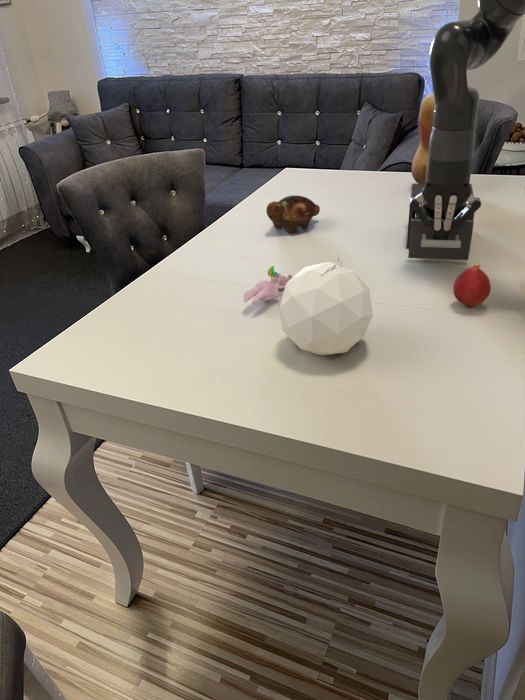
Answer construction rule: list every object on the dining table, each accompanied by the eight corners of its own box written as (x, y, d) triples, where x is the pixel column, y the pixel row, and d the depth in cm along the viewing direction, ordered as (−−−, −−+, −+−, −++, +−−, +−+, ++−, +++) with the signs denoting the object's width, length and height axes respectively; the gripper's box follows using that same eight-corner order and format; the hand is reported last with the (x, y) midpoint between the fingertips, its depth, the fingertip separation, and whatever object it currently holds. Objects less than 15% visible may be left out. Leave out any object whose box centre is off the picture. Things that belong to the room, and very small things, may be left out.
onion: (450, 313, 90) (456, 270, 85) (450, 298, 94) (456, 255, 90) (487, 316, 88) (495, 272, 84) (486, 300, 93) (493, 257, 88)
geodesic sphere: (302, 278, 92) (282, 233, 79) (386, 287, 87) (379, 240, 74) (281, 360, 87) (256, 326, 74) (368, 374, 82) (358, 340, 70)
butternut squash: (402, 186, 150) (409, 88, 137) (447, 181, 152) (458, 83, 138) (423, 201, 139) (434, 95, 125) (472, 194, 140) (487, 90, 127)
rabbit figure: (271, 286, 106) (233, 308, 94) (271, 256, 104) (232, 276, 92) (300, 290, 104) (264, 314, 92) (301, 260, 101) (264, 281, 89)
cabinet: (468, 250, 111) (475, 205, 106) (406, 248, 114) (409, 204, 109) (465, 225, 122) (471, 183, 117) (408, 224, 126) (412, 183, 120)
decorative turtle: (256, 233, 128) (254, 199, 124) (301, 220, 136) (300, 188, 132) (284, 240, 121) (283, 205, 117) (329, 226, 130) (330, 192, 126)
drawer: (469, 270, 101) (475, 230, 97) (407, 267, 104) (410, 229, 100) (464, 235, 116) (469, 199, 111) (410, 233, 118) (413, 198, 114)
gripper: (410, 159, 92) (403, 253, 101) (493, 159, 88) (477, 256, 98) (412, 149, 98) (405, 238, 107) (489, 148, 94) (475, 241, 104)
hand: (439, 247), depth 103 cm, fingers closed
